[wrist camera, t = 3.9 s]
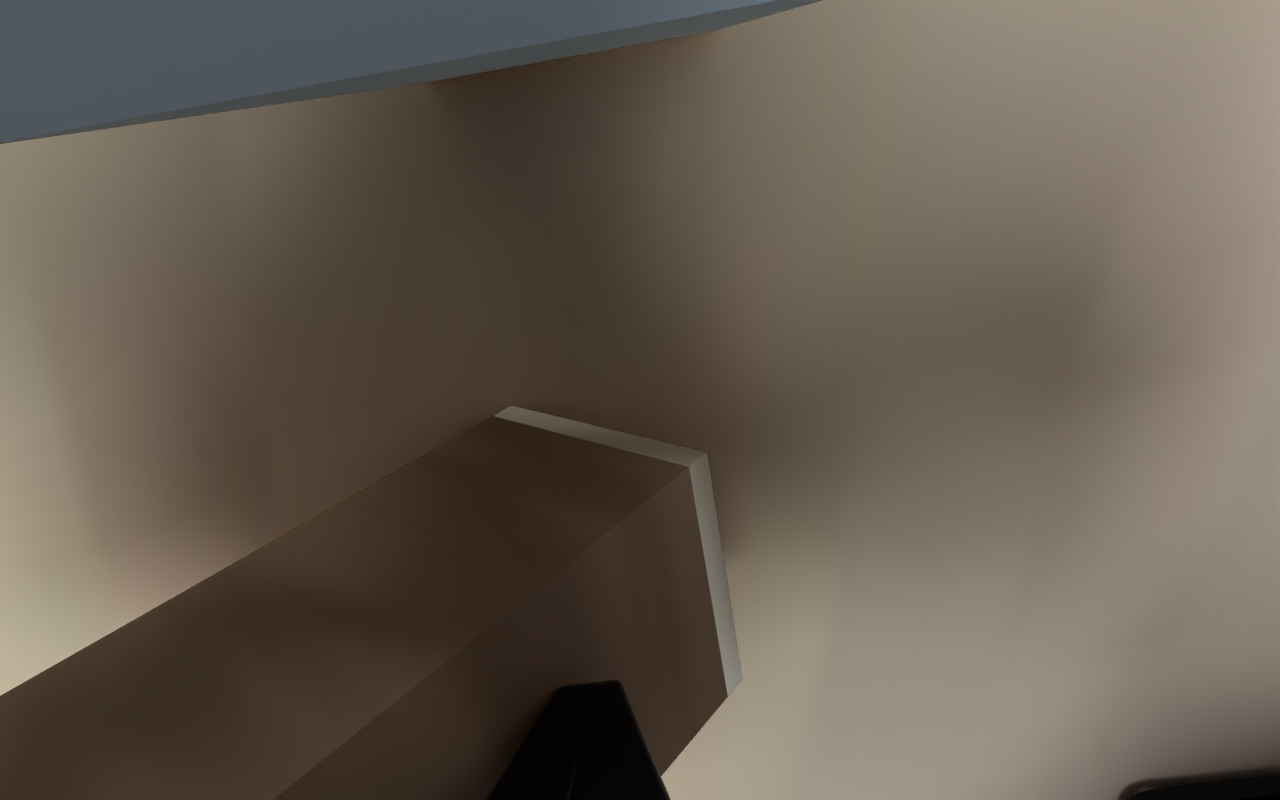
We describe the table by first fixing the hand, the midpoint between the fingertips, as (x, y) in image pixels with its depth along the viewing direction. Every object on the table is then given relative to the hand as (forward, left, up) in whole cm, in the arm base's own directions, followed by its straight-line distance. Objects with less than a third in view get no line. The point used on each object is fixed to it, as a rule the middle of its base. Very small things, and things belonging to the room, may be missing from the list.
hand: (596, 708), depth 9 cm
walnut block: (0, 0, -4) cm, 4 cm away
